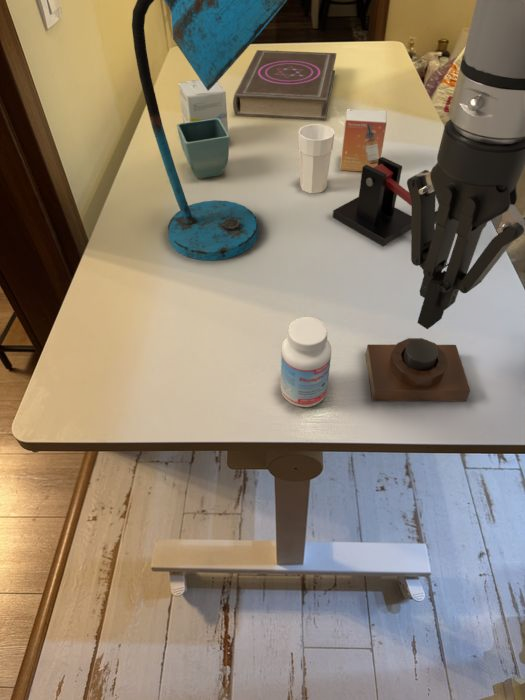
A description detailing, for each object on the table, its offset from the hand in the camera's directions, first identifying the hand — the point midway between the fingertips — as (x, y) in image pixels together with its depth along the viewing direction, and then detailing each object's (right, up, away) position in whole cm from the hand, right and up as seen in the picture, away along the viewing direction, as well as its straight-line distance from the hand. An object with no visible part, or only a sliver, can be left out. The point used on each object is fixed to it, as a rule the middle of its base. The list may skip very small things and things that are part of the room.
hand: (429, 320), depth 62 cm
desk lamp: (-27, +17, +31) cm, 44 cm away
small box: (0, +35, +46) cm, 58 cm away
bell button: (0, -5, +5) cm, 7 cm away
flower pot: (-31, +33, +46) cm, 65 cm away
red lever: (+4, +22, +25) cm, 33 cm away
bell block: (0, -7, +8) cm, 10 cm away
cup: (-10, +29, +41) cm, 51 cm away
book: (-13, +63, +73) cm, 97 cm away
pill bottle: (-15, -9, +7) cm, 18 cm away
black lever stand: (0, +20, +32) cm, 38 cm away
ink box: (-33, +44, +55) cm, 78 cm away
